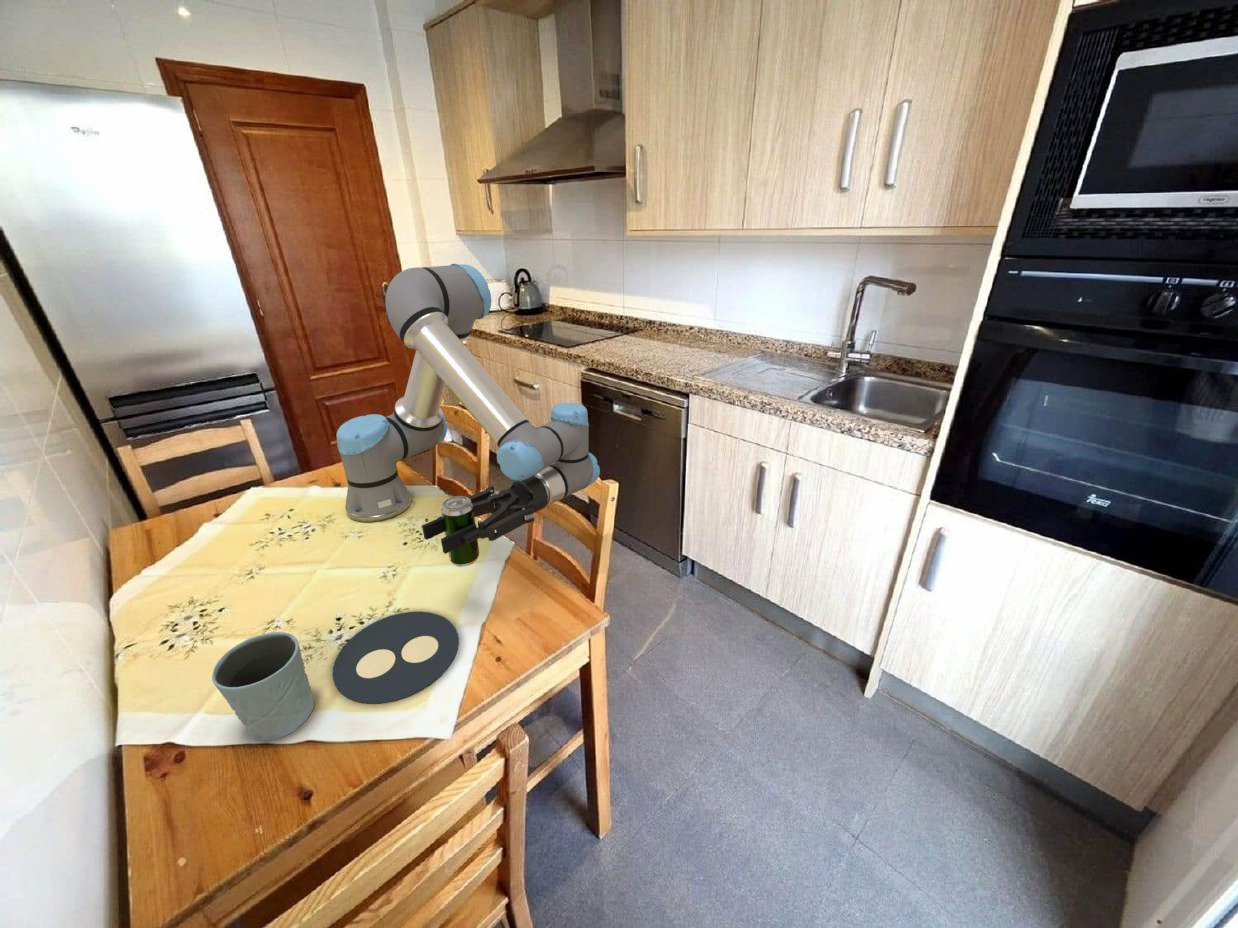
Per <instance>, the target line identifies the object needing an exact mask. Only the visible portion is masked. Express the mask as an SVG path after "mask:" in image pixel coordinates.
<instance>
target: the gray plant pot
mask: <svg viewBox="0 0 1238 928" xmlns="http://www.w3.org/2000/svg"><path fill="white" fill-rule="evenodd" d="M305 669H306V667H305V662H304V659H303V657H302V651H301V647H300V643H299V640H298V638H297V637H296V636H295V635H293V634H292V633H289V632H288V633H287V632H285V631H273V632H268V633H263V634H259V635H256V636H252V637H249V638H248V639H245V640H244V641H242V642H240V643H238V644H236V645H235V646H234V647H232V648H231V649H229V650H228V651H226V653H224V654H223V655H222V656H221V657H220V659H218V661H217V662H216V664H215V665H214V667H213V670H212V674H211V681H212V683H213V684H214V686H215V688H217V691H219V692H220V694H221V695H222V697H223V698H224V699H225V701H227V702H226V703H227V704H228V705H229V707H230V708H231V710H233V711H234V714H235V715H236V716H237V718H238V720H239V721H240V722H241V724H242V725H244V727H245V730H246V731H247V733H248V734H249V735H250V736H251V737H252V739H255V740H258V741H264V742H266V741H267V742H268V741H269V742H270V741H275V740H278V739H281V738H283V737H286V736H288V735H290V734H291V733H292V732H296V730H297V729H298V728H300V727H301V726H302V725H303V724H304V723H305V722H306V721H307V720H308V719H309V717H310V716H311V714H312V712H313V710H314V706H315V698H314V694H313V691H312V688H311V685H310V681H309V678H308V674H307V673H306V670H305Z"/></svg>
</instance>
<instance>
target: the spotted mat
mask: <svg viewBox="0 0 1238 928" xmlns="http://www.w3.org/2000/svg"><path fill="white" fill-rule="evenodd" d="M458 650H459V635H458V631H457V628H456V627H455V626H454V624H453V623H452V622H451V621H450V620H449V619H447V618H446V617H444V616H442V615H440V614H438V613H434V612H430V611H429V612H428V611H406V612H400V613H396V614H392V615H389V616H386V617H384V618H381V619H378V620H377V621H375V622H373V623H371V624H369V625H367V626H365V627H364V628H362V629H361V630H360V631H358V632H357V633H355V634H354V635H353V636H352V637H351V638H350V639H349V640H348V641H347V642H346V643H345V644H344V645H343V647H341V648H340V651H339V652H338V654H337V656H336V658H335V660H334V663H333V666H332V680H333V683H334V686H335V687H336V690H337V691H338V692H339V693H340V694H341V695H342V696H344V697H345V698H347V699H349V700H351V701H353V702H356V703H361V704H367V705H368V704H369V705H379V704H387V703H392V702H393V703H394V702H397V701H400V700H403V699H406V698H409V697H411V696H414V695H416V694H417V693H420V692H421V691H423V690H425V689H426V688H428V687H430V686H431V685H432V684H433V683H435V682H436V681H437V680H438V679H440V677H442V676H443V675H444V674H445V672H447V670H448V669H449V668H450V666H451V665H452V663H453V662H454V660H455V658H456V655H457V653H458Z"/></svg>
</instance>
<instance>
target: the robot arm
mask: <svg viewBox="0 0 1238 928" xmlns="http://www.w3.org/2000/svg"><path fill="white" fill-rule="evenodd" d="M491 293H492V292H491V290H490V288H489V284H488V281H487V280H486V278H485V277H484V276H483V274H482V273H481V272H480V271H479V270H478V269H477V268H475V267H474V266H472V265H470V264H461V263H460V264H458V263H451V264H450V265H437V266H423V267H410V268H406V269H404V270H402V271H400V272H398V273H396V275H395V276H394V277H393V278H392V279H391V281H390V283H389V284H388V286H387V289H386V293H385V311H386V315H387V318H388V321H389V323H390V325H391V327H392V329H393V331H394V333H395V334H396V336H397V337H398V338H399V340H400V341H401V342H402V343H403V344H404V346H406V347H407V348H408V349H410V350H415V353H414V357H413V361H412V365H411V369H410V373H409V377H408V382H407V385H406V388H405V393H404V395H403V396H401V397H400V398H399V399H397V400H396V402H395V405H394V408H393V412H392V413H391V414H390V415H386V416H384V415H382V414H379V413H378V414H377V413H376V414H375V413H372V414H371V413H369V414H367V415H360V416H357V417H353V418H350V419H349V420H347V421H345V422H343V423H342V424H341V425H340V426H339V428H337V431H336V435H335V436H336V442H337V444H336V445H337V450H338V452H339V455H340V459H341V463H342V466H343V471H344V474H345V475H344V476H345V478H346V481H347V491H346V499H345V500H346V501H345V506H344V507H345V512H346V516H347V517H348V518H349V519H351V520H352V521H356V522H359V523H360V522H361V523H374V522H375V523H376V522H381V521H385V520H389V519H393V518H394V517H397V516H399V515H400V514H402V513H404V512H405V511H406V510H408V509H409V508H410V506H411V504H412V497H411V493H410V491H409V490H408V488H407V487H406V485H405V483H404V481H403V480H402V478H401V477H400V475H399V472H398V466H397V463H399V462H401V461H404V460H406V459H408V458H410V457H412V456H415V455H418V454H420V453H422V452H425V451H427V450H431V449H433V448H434V447H436V446H437V445H439V444H441V443H442V442H443V441H444V440H445V438H446V437H447V433H448V424H447V423H446V422H447V418H446V416H445V414H444V411H443V410H442V408H441V403H442V400H443V396H444V393H445V391H446V387H447V388H448V389H449V390H450V391H451V393H453V395H454V396H455V397H456V398H457V400H458V401H459V402H460V403H461V404H462V405H463V407H464V408H465V409H466V411H468V413H469V414H470V415H471V416H472V417H473V419H474V420H475V421H476V422H477V423H478V424H479V426H481V428H482V429H483V430H484V432H486V434H487V435H488V436H489V437H490V439H491V440H492V441H493V442H494V443H495V444H496V445H497V447H498V450H497V453H496V462H497V464H498V465H499V467H500V468H499V469H500V471H501V472H502V474H503V475H504V476H505V477H506V478H508V479H509V480H512V481H513V482H512V484H511V485H510V487H509V488H507V489H502V490H500V491H499V490H495V486H491V485H490V486H488V487H486V488H485V489H484V490H482V491H479V492H477V493H474V494H472V495H469V496H467V497H468V498H470V500H471V503H472V504H473V509H474V516H475V518H477V517H481V516H484V515H487V514H491V515H489V516H488V517H487V518H485V519H484V520H483V521H480V520H478V521H477V524H476V523H475V524H471V525H469V526H467V527H465V528H463V529H461V530H459V531H457V532H454V533H452V534H450V535H448V536H444V537H442V538H440V543H441V549H442V553H443V554H445V555H447V554H448V552H450V551H452V550H454V549H456V548H458V547H460V546H462V545H464V544H469V543H471V542H473V541H475V540H477V539H478V540H479V539H485V538H487V539H488V541H490V542H493V541H496V540H497V539H500V538H501V537H503V536H505V535H507V534H508V533H511V532H512V531H514V530H516V529H518V528H520V527H522V526H524V525H526V524H529V523H530V524H531V523H533V522H535V514H536V513H538V512H539V511H541V510H544V509H545V508H546V507H548V506H551V505H553V504H554V503H556V502H559V501H561V500H563V499H564V498H567V497H569V496H572V495H573V494H575V493H577V492H579V491H581V490H584V489H586V488H587V487H590V486H591V485H592V484H593V483H595V482H597V480H598V479H599V477H600V474H601V469H600V466H599V465H598V460H597V457H596V456H595V455H593V454H592V453H591V452H589V430H590V429H589V426H590V423H589V417H588V416H589V415H588V409H587V407H586V406H584V405H583V404H581V403H576V402H560V403H557V404H555V405H553V407H552V408H551V411H550V417H549V418H550V421H549V422H547V423H544V424H543V425H541V426H539V427H535V426H534V425H533V424H532V423H531V422H530V421H529V419H527V417H526V416H525V415H524V414H523V413H522V411H521V410H520V409H519V408H518V407H517V406H516V404H515V403H514V402H513V401H512V400H511V399H510V397H509V396H508V395H507V394H506V393H505V392H504V390H503V389H502V388H501V387H500V385H499V384H498V383H497V382H496V380H495V379H493V377H492V376H491V375H490V373H488V372H487V370H486V369H485V368H484V367H483V366H482V364H481V363H480V362H479V361H478V360H477V358H476V357H475V356H474V355H473V353H472V352H471V351H470V350H469V349H468V348H467V346H466V345H465V344H464V343H463V342H462V340H466V339H467V338H469V337H470V335H471V334H472V331H473V328H474V325H475V321H476V320H481V319H484V318H485V317H486V316H487V315H489V313H490V311H491V307H492V294H491ZM421 528H422V529H421V530H422V534H423V538H424V539H425V541H428V540H430V539H432V538H434V537H436V536H438V535H440V534H443V533H445V530H444V524H443V518H442V515H441V516H439V517H437V518H436V519H433V520H431V521H428V522H427V523H425V524H422V525H421Z"/></svg>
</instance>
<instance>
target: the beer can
mask: <svg viewBox="0 0 1238 928" xmlns="http://www.w3.org/2000/svg"><path fill="white" fill-rule="evenodd" d="M468 497H469V496H465V495H455V496H451V497H448V498H446V499H444V500H443V502H441V509H440V511H441V516H442V518H443V524H444V530H445V532H444V537H446V536H448V535H450V534H452V533H454V532H457V531H459V530H461V529H463V528H465V527H467V526H469V525H471V524H476V517H475V516H474V509H473V504H472V503H471V500H470V498H468ZM447 554H448V559H449V561H450V563H451V564H452V565H453V566H455V567H460V568H462V567H468V566H471V565H473V564H475V563H476V562H477V561H478V559H479V557H480V548H479V539H477V540H475V541H473V542H471V543H469V544H464V545H462V546H460V547H458V548H456V549H454V550H452V551H450V552H448V553H447Z"/></svg>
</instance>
